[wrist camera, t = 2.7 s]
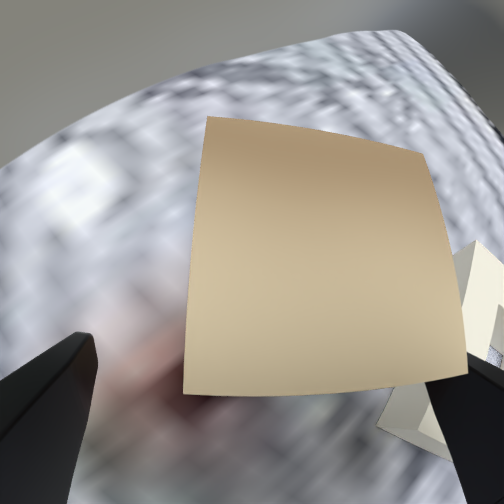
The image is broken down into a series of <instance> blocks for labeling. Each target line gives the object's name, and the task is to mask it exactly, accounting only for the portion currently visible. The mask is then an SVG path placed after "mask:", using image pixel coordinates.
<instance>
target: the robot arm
mask: <svg viewBox="0 0 504 504" xmlns="http://www.w3.org/2000/svg"><path fill="white" fill-rule="evenodd" d="M467 363H468V374H463V375H459V376H454V377H449V378H444V379H439V380H434V381H428V382H424V383H425V386H426V389H427V392H428V395H429V399H430V402H431V405H432V408H433V411H434V414H435V417H436V419H437V422H438V424H439V426H440V429H441V431H442V434H443V437H444V439H445V442H446V444H447V447H448V450H449V452H450V455H451V458H452V460H453V463H454V466H455V469H456V472H457V474H458V477H459V480H460V483H461V486H462V489H463V492H464V495H465V499H466V502H467V504H504V370H502V369H500V368H498V367H496V366H494V365H492V364H490V363H488V362H486V361H484V360H482V359H480V358H478V357H476V356H474V355H472V354H471V353H469V352H467ZM97 369H98V358H97V353H96V348H95V343H94V338H93V336H92V335H91V334H90V333H85V332H75V333H73V334H71V335H70V336H68V337H67V338H65V339H63V340H62V341H60V342H59V343H57V344H56V345H54V346H53V347H51V348H49V349H48V350H46V351H45V352H43V353H42V354H40V355H39V356H37V357H35V358H34V359H32V360H31V361H29V362H28V363H26V364H25V365H23V366H22V367H20V368H19V369H17V370H16V371H14V372H13V373H11V374H10V375H8V376H6V377H5V378H3V379H2V380H0V504H67V500H68V496H69V491H70V487H71V482H72V478H73V474H74V470H75V466H76V462H77V458H78V454H79V451H80V447H81V443H82V440H83V436H84V433H85V429H86V425H87V422H88V417H89V412H90V406H91V400H92V395H93V389H94V384H95V379H96V374H97Z"/></svg>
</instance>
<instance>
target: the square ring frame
mask: <svg viewBox="0 0 504 504" xmlns="http://www.w3.org/2000/svg"><path fill="white" fill-rule="evenodd" d="M452 257H453V262H454V267H455V272H456V277H457V283H458V288H459V294H460V301H461V307H462V314H463V322H464V330H465V340H466V350H467V352H469V353H471V354H472V355H474V356H476V357H478V358H480V359H482V360H484V361H486V357H487V354H488V350H489V346H490V345H491V346H492V347H493V348H494V349H495V350H497V351H498V352H499V353H500V354H502V355H503V358H502V362H501V366H500V369H502V370H504V265H503V264H502V263H501V262H500V261H499V260H498V259H497V258H496V257H495V256H494V255H493V254H492V253H491V252H489V251H488V250H487V249H486V248H485V247H484V246H483V245H482V244H481V243H480V242H478V241H477V240H475V241H473V242H472V243H470V244H469V245H467V246H466V247H464V248H463V249H461V250H460V251H458V252H457V253H455V254H454V255H452ZM376 426H377V427H379V428H381V429H383V430H385V431H387V432H389V433H391V434H393V435H395V436H397V437H399V438H401V439H403V440H405V441H407V442H409V443H411V444H414V445H416V446H418V447H420V448H422V449H424V450H426V451H428V452H431V453H433V454H435V455H437V456H439V457H442V458H444V459H446V460H448V461H451V462H453V460H452V458H451V455H450V452H449V450H448V447H447V444H446V442H445V439H444V437H443V434H442V431H441V429H440V426H439V424H438V422H437V419H436V417H435V414H434V411H433V408H432V405H431V402H430V399H429V395H428V392H427V389H426V386H425V383H424V382H423V383H417V384H410V385H404V386H397V387H395V388H394V390H393V392H392V394H391V396H390V398H389V400H388V402H387V404H386V406H385V409H384V411H383V413H382V414H381V416H380V418H379V420H378V422H377V424H376Z"/></svg>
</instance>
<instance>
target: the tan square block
mask: <svg viewBox="0 0 504 504" xmlns="http://www.w3.org/2000/svg"><path fill="white" fill-rule="evenodd" d="M463 374H468V363H467V350H466V340H465V330H464V322H463V314H462V307H461V301H460V294H459V288H458V283H457V277H456V272H455V267H454V262H453V257H452V252H451V248H450V244H449V239H448V235H447V231H446V227H445V223H444V220H443V216H442V212H441V209H440V205H439V202H438V198H437V195H436V192H435V188H434V185H433V182H432V179H431V176H430V173H429V170H428V167H427V164H426V161H425V158H424V155H423V154H422V153H418V152H414V151H411V150H407V149H403V148H399V147H395V146H391V145H387V144H383V143H379V142H374V141H370V140H366V139H361V138H356V137H352V136H347V135H342V134H337V133H331V132H326V131H320V130H315V129H309V128H303V127H296V126H290V125H283V124H276V123H268V122H260V121H252V120H243V119H233V118H222V117H210V116H207V122H206V129H205V137H204V144H203V151H202V159H201V167H200V175H199V183H198V192H197V201H196V210H195V220H194V230H193V240H192V251H191V262H190V275H189V288H188V302H187V317H186V335H185V355H184V381H183V394H194V395H214V396H298V395H318V394H333V393H345V392H356V391H365V390H374V389H382V388H390V387H397V386H404V385H410V384H417V383H423V382H428V381H434V380H439V379H444V378H449V377H454V376H459V375H463Z"/></svg>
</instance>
